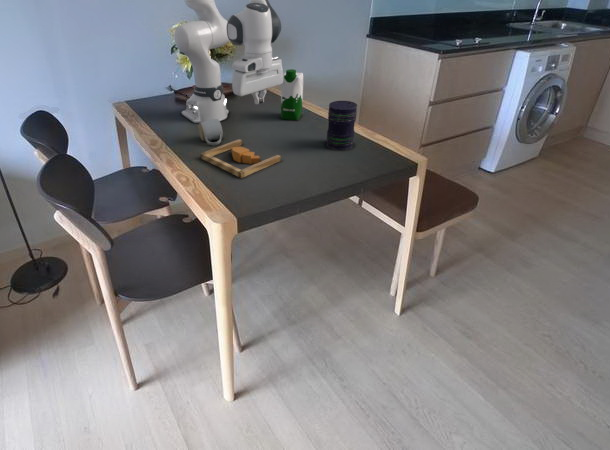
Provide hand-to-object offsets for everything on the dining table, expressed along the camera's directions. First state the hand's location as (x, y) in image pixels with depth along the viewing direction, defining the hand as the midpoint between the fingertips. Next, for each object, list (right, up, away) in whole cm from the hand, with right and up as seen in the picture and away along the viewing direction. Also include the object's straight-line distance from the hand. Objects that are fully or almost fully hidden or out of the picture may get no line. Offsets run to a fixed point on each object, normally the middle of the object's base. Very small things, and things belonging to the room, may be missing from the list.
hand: (259, 103), depth 141 cm
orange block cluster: (-6, -19, +4) cm, 20 cm away
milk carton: (+14, +5, +39) cm, 42 cm away
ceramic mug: (-18, -9, +20) cm, 28 cm away
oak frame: (-7, -19, +4) cm, 20 cm away
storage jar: (+30, -12, +12) cm, 34 cm away
